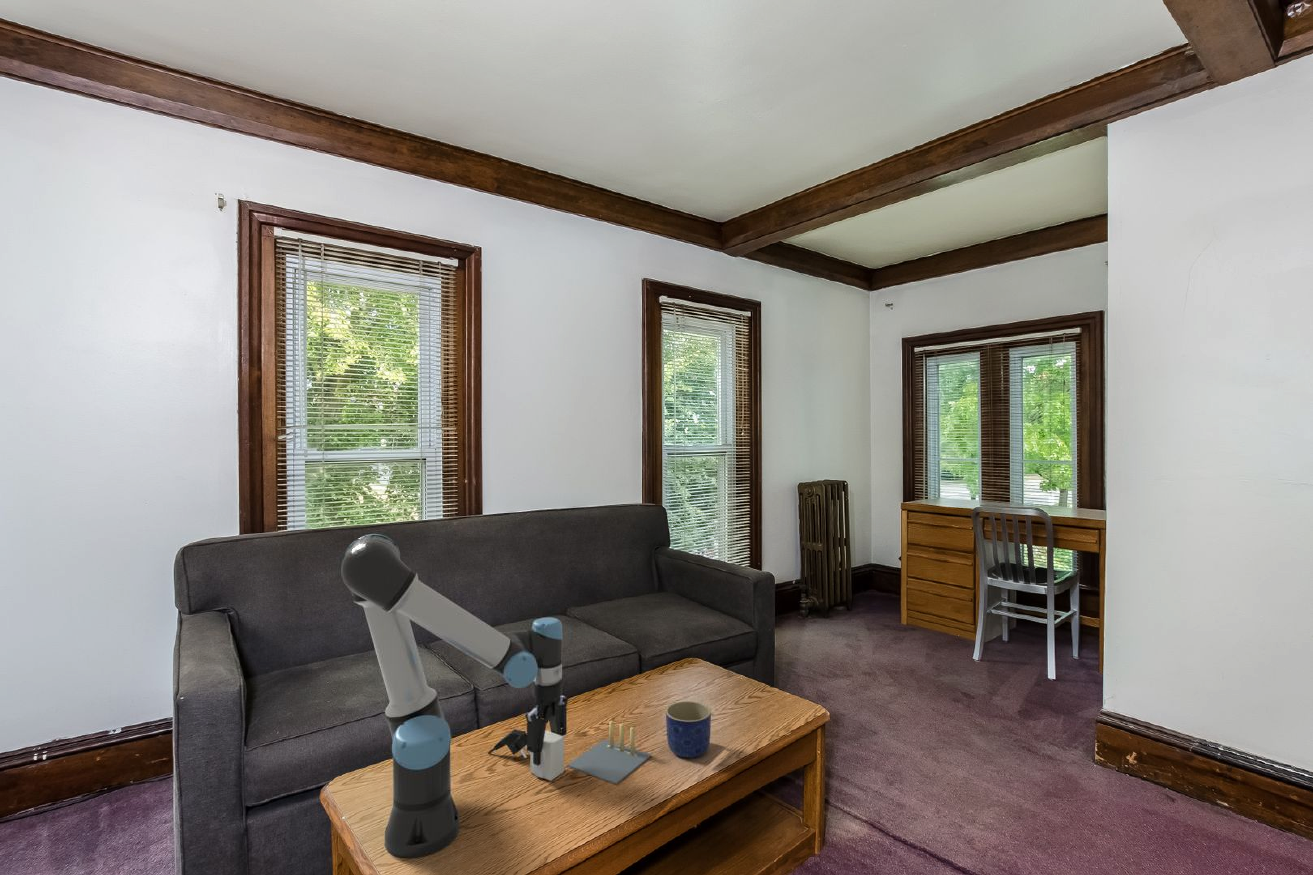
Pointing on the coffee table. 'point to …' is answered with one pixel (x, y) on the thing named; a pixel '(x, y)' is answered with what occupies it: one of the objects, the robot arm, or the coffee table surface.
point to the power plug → (513, 742)
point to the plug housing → (551, 755)
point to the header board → (611, 758)
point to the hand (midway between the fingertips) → (547, 770)
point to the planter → (688, 728)
